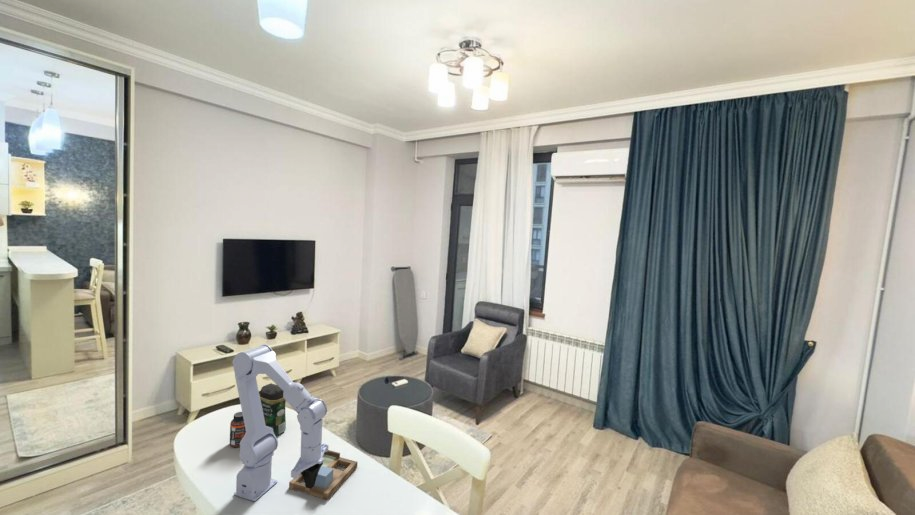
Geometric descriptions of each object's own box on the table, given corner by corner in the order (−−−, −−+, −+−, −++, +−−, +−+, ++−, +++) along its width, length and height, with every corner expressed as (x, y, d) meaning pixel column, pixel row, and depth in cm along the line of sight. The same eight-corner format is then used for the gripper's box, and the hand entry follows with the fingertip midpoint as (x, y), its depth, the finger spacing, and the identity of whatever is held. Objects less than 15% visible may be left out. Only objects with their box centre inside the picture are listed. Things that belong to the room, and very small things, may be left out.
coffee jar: (254, 432, 149) (256, 386, 147) (271, 423, 156) (273, 379, 155) (272, 440, 145) (274, 392, 144) (289, 430, 152) (291, 385, 151)
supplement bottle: (233, 450, 137) (234, 419, 136) (226, 443, 141) (227, 414, 140) (251, 443, 142) (251, 414, 141) (243, 437, 146) (244, 408, 145)
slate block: (325, 488, 118) (325, 476, 118) (314, 485, 119) (314, 473, 119) (332, 480, 122) (333, 468, 121) (322, 477, 123) (322, 465, 122)
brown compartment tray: (327, 499, 116) (328, 488, 116) (288, 488, 120) (289, 477, 120) (357, 467, 132) (357, 457, 132) (322, 457, 136) (322, 448, 136)
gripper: (306, 459, 104) (305, 506, 105) (337, 433, 118) (335, 475, 119) (285, 453, 106) (283, 500, 107) (317, 428, 120) (316, 469, 121)
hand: (309, 486), depth 113 cm, fingers closed
